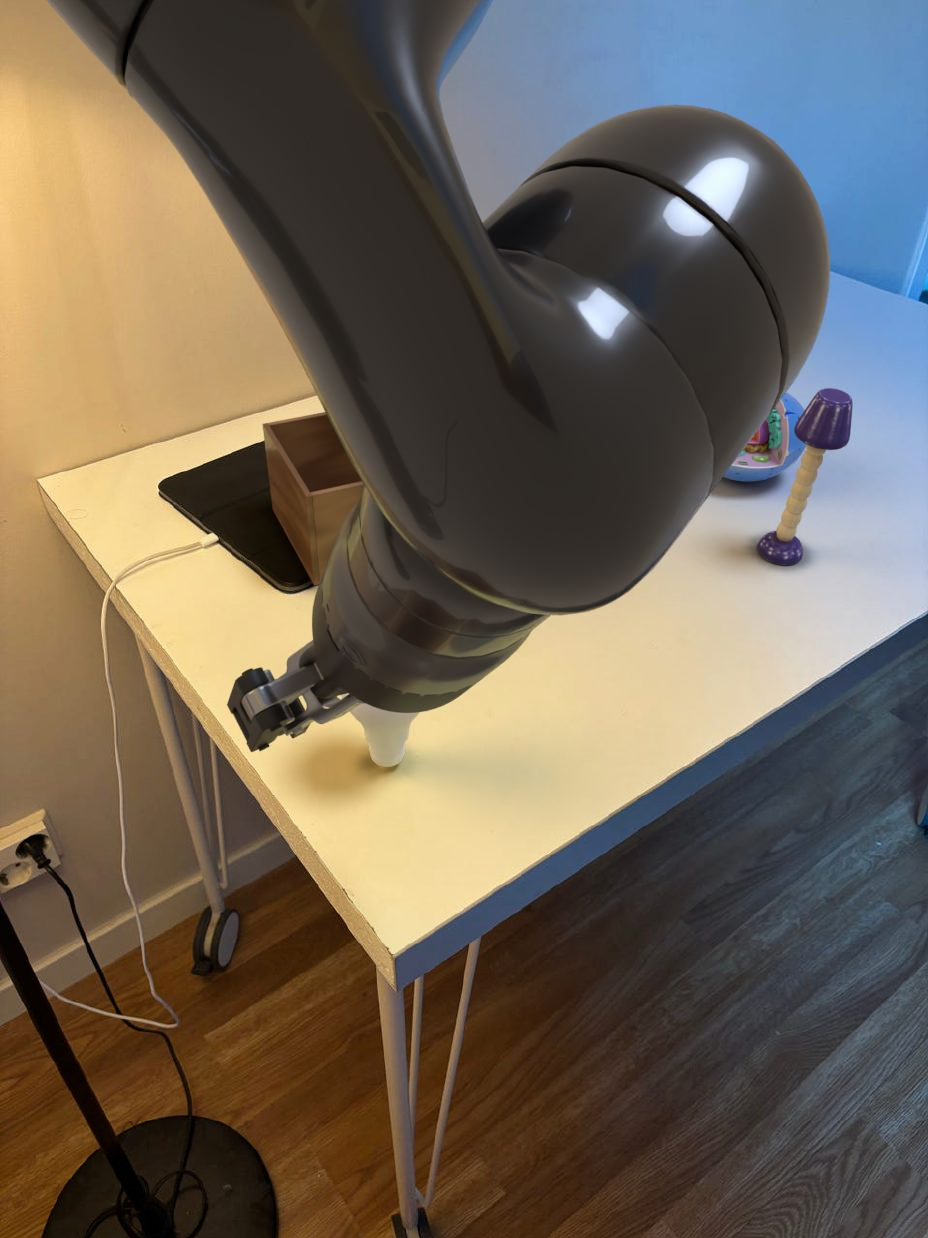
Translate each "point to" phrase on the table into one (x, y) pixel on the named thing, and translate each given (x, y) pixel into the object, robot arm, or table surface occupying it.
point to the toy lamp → (809, 468)
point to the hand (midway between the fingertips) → (361, 681)
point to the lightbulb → (384, 732)
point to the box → (310, 485)
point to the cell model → (771, 445)
